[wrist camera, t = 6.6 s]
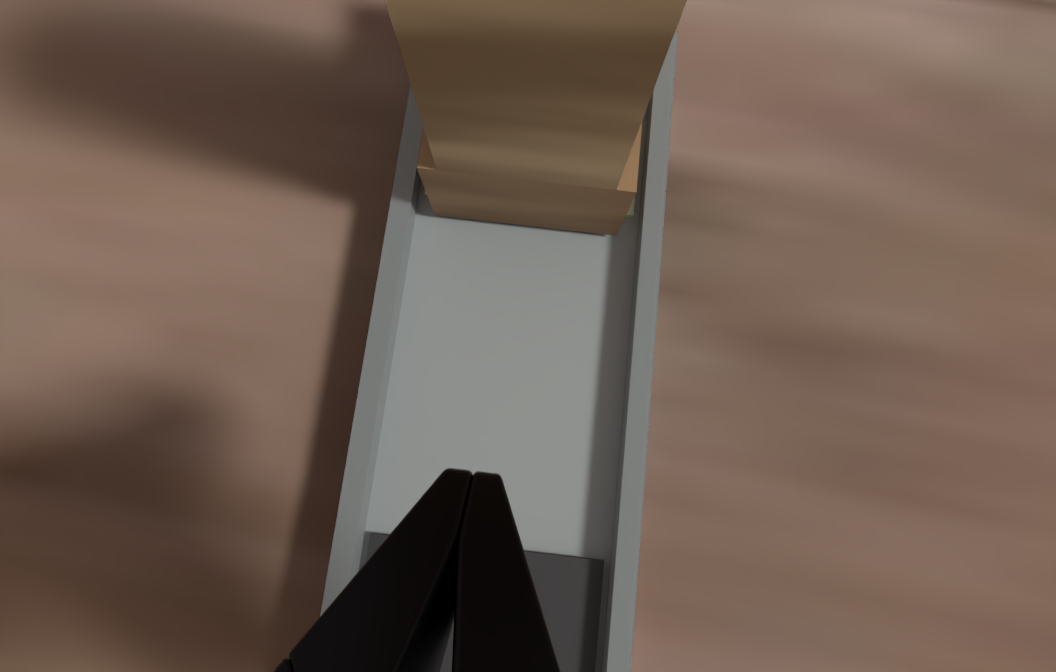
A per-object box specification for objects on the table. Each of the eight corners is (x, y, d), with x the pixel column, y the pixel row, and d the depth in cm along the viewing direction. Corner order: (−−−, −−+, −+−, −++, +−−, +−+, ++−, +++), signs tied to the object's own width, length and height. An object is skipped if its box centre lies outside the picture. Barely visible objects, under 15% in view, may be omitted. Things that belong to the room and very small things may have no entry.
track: (609, 796, 15) (618, 830, 14) (311, 760, 15) (290, 790, 14) (666, 60, 19) (677, 30, 18) (430, 34, 19) (423, 3, 18)
